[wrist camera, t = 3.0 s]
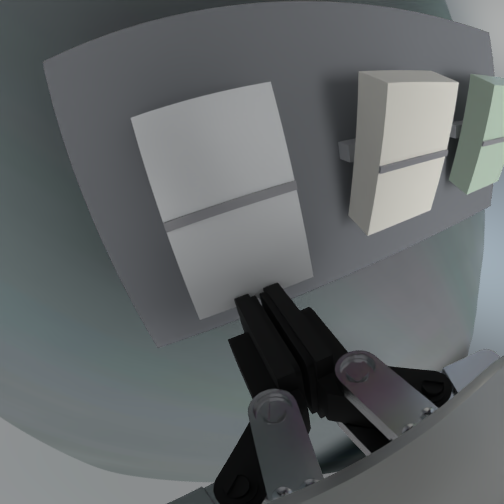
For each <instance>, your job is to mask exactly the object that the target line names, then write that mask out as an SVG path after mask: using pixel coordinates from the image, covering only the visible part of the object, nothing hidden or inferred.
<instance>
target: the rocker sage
mask: <svg viewBox="0 0 504 504" xmlns="http://www.w3.org/2000/svg"><path fill="white" fill-rule="evenodd" d="M503 165H504V78H501V77H494V76H487V75H479V74H470V82H469V89H468V95H467V101H466V107H465V113H464V118H463V123H462V128H461V133H460V137H459V142H458V146H457V150H456V154H455V158H454V162H453V166H452V170H451V173H450V177H449V181H450V182H452V183H453V184H454V185H455V186H457V187H458V188H459V189H460V190H462V191H463V192H464V193H465V194H466V195H467V194H470V193H472V192H474V191H476V190H479V189H481V188H483V187H486V186H488V185H490V184H492V183H494V182H497V181H498V180H499V177H500V174H501V171H502V168H503Z"/></svg>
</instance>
